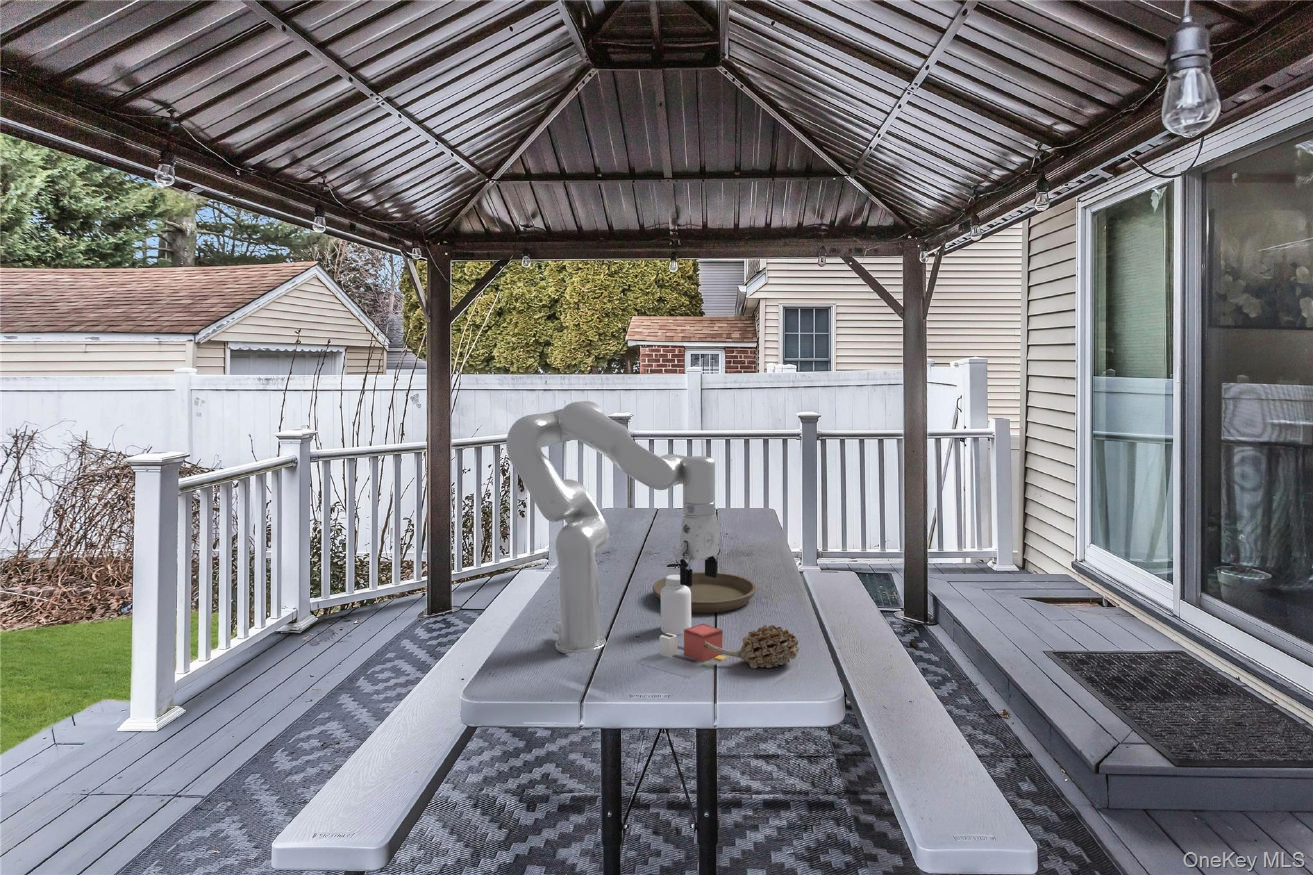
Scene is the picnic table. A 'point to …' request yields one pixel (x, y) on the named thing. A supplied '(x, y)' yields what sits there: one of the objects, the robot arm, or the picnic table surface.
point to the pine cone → (764, 647)
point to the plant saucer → (715, 592)
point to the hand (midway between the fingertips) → (698, 580)
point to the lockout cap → (702, 641)
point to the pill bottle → (675, 606)
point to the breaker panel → (678, 658)
